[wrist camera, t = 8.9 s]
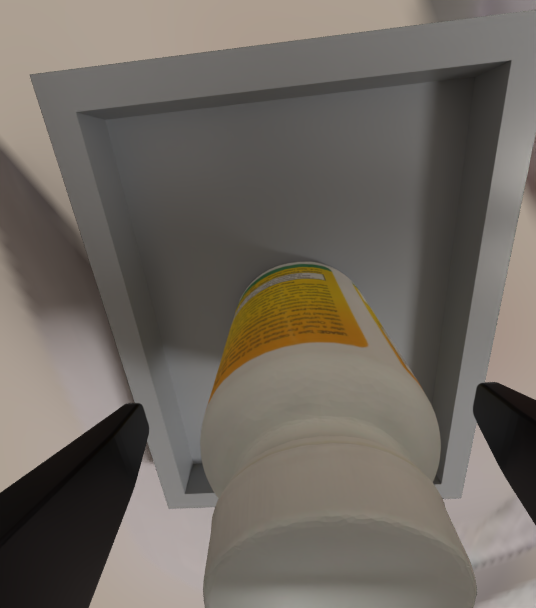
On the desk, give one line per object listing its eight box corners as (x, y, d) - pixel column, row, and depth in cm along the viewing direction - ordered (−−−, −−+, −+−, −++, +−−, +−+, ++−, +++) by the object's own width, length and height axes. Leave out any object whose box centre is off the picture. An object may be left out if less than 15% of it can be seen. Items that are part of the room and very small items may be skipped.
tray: (436, 454, 17) (461, 498, 15) (182, 465, 18) (169, 508, 16) (498, 42, 10) (561, 6, 8) (80, 93, 11) (29, 74, 9)
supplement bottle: (391, 301, 13) (628, 585, 4) (315, 391, 15) (370, 716, 6) (278, 230, 12) (284, 411, 3) (212, 336, 14) (102, 634, 5)
